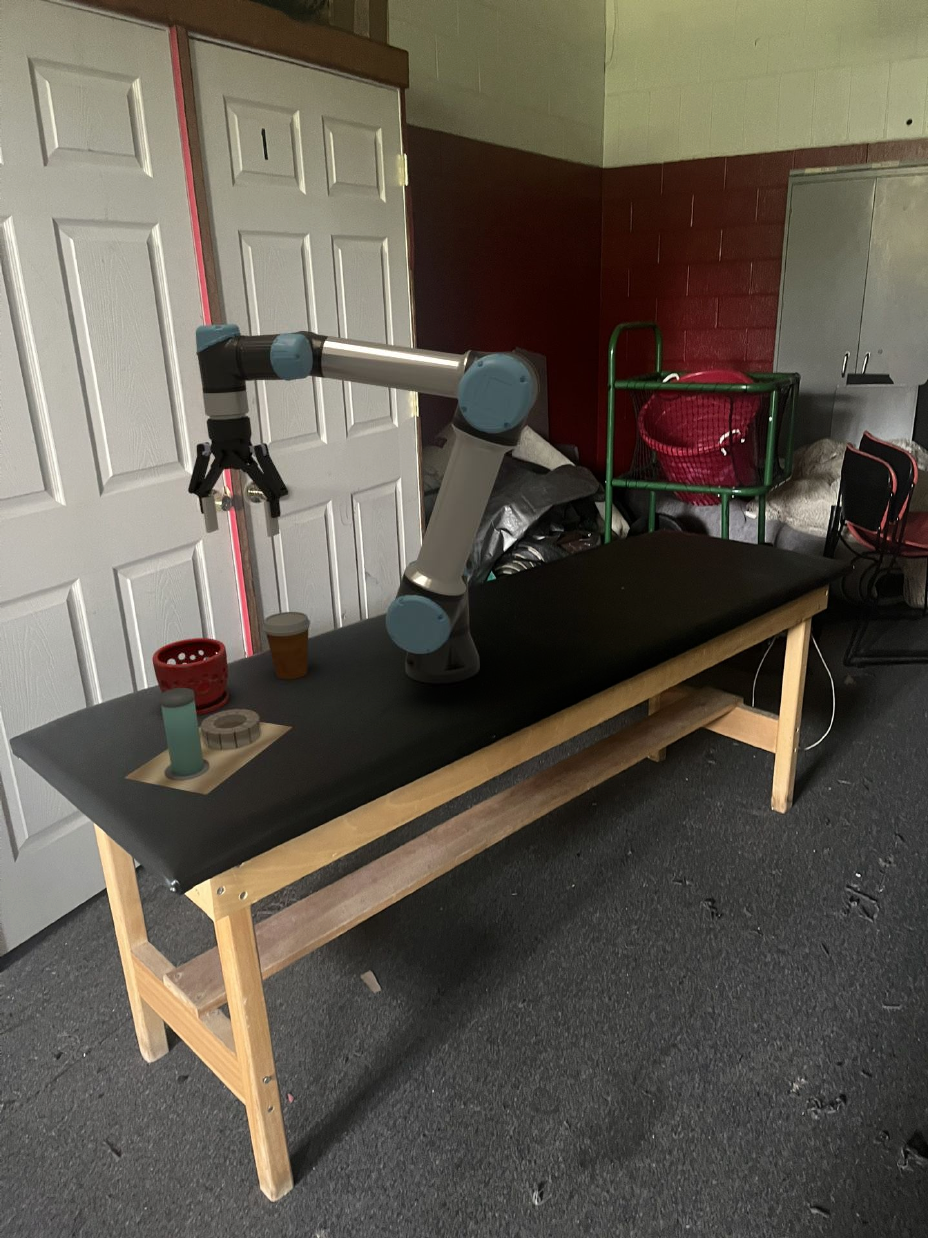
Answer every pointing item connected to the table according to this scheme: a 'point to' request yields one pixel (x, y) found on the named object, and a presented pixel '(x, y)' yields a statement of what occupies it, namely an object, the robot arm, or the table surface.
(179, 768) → the teal cylindrical container
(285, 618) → the disposable coffee cup
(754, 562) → the table surface
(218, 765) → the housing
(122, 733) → the table surface
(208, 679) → the plant pot
